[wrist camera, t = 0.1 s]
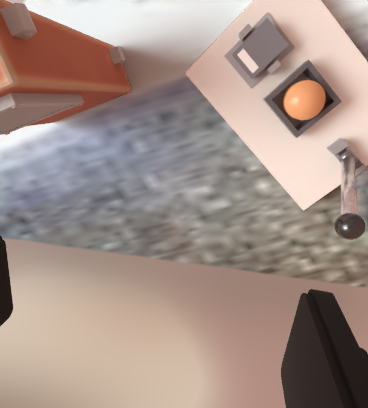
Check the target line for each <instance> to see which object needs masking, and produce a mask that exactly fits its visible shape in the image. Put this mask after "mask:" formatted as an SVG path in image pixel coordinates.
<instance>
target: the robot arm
mask: <svg viewBox="0 0 368 408" xmlns="http://www.w3.org/2000/svg"><path fill="white" fill-rule="evenodd" d="M12 310H13V303H12V294H11V286H10V277H9V269H8V261H7V252H6V244H5V241H4V240H3V239H2V237H1V236H0V326H1V325H2V324H3V323H4V322H5V321H6V320H7V319H8V318H9V317H10V315H11V313H12ZM281 378H282V385H283V391H284V397H285V404H286V408H368V354H367V352H366V351H365V350H364V349H362V348H360V347H359V345H358V343H357V341H356V340H355V337H354V335H353V333H352V331H351V329H350V327H349V325H348V323H347V321H346V319H345V317H344V315H343V313H342V311H341V309H340V307H339V305H338V303H337V301H336V299H335V296H334V295H333V294H332V293H329V292H324V291H319V290H313V289H311V290H309V292H308V294H306V293H302V295H301V297H300V300H299V304H298V308H297V311H296V315H295V318H294V322H293V326H292V329H291V333H290V337H289V340H288V344H287V347H286V351H285V354H284V358H283V362H282V367H281Z"/></svg>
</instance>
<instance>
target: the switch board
mask: <svg viewBox="0 0 368 408" xmlns="http://www.w3.org/2000/svg"><path fill="white" fill-rule="evenodd" d="M266 18H268V19H269V21H270V22H271V23H272V24H273V26H274V27H275V28H276V29H277V31H278V32H279V33H280V34H281V36H282V37H283V38H284V40H285V41H286V42H287V43H288V46H287V47H286V48H285V49H284V50H283V51H282V52H281V53H280V54H279V55H278V56H277V57H276V58H275V59H274V60H272V61H271V62H270V63H269V64H268V65H267V66H266V67H265V68H264V69H263V70H262V71H261V72H260V73H259V74H258V75H257V76H256V77H254V78H253V79H251V78H250V76H249V75H248V74H247V73H246V72H245V70H244V69H243V68H242V67H241V65H240V64H239V63H238V62H237V61H236V59H235V58H234V57H233V56H232V54H233V53H234V52H235V51H236V50H237V49H238V48H239V47H240V46H241V45H242V43H243V42H244V41H245V40H246V39H247V38H248V37H249V36H250V35H251V34H252V33H253V32H254V31H255V30H256V29H257V28H258V27H259V26H260V25H261V24H262V23H263V22H264V21H265V19H266ZM185 74H186V75H187V77H188V78H189V79H190V80H191V81H192V82H193V84H194V85H195V86H196V87H197V88H198V89H199V90H200V92H201V93H202V94H203V95H204V96H205V97H206V99H207V100H208V101H209V102H210V103H211V104H212V105H213V107H214V108H215V109H216V110H217V111H218V112H219V114H220V115H221V116H222V117H223V118H224V119H225V121H226V122H227V123H228V124H229V125H230V126H231V127H232V129H233V130H234V131H235V132H236V133H237V134H238V136H239V137H240V138H241V139H242V140H243V141H244V142H245V144H246V145H247V146H248V147H249V148H250V149H251V151H252V152H253V153H254V154H255V155H256V156H257V158H258V159H259V160H260V161H261V162H262V163H263V164H264V166H265V167H266V168H267V169H268V170H269V171H270V173H271V174H272V175H273V176H274V177H275V178H276V180H277V181H278V182H279V183H280V184H281V185H282V186H283V188H284V189H285V190H286V191H287V192H288V193H289V195H290V196H291V197H292V198H293V199H294V200H295V201H296V203H297V204H298V205H299V206H300V207H301V208H302V210H305V209H306V208H308V207H309V206H311V205H312V204H313V203H315V202H316V201H318V200H319V199H320V198H322V197H323V196H325V195H326V194H328V193H329V192H330V191H332V190H333V189H335V188H336V187H338V186H339V185H340V184H341V163H340V162H339V160H338V159H337V158H336V157H335V155H336V154H338V153H339V152H340V151H342V150H343V149H344V148H346V147H348V146H349V147H350V148H351V149H352V151H353V152H354V153H355V154H356V156H357V157H358V158H359V159H360V161H361V163H360V165H359V166H357V167H356V168H355V174H356V176H357V175H358V174H360V173H361V172H363V171H364V170H366V169H367V167H366V166H367V165H368V62H367V60H366V59H365V58H364V56H363V55H362V54H361V52H360V51H359V50H358V48H357V47H356V46H355V45H354V43H353V42H352V41H351V39H350V38H349V37H348V35H347V34H346V33H345V31H344V30H343V29H342V27H341V26H340V25H339V23H338V22H337V21H336V19H335V18H334V17H333V15H332V14H331V13H330V11H329V10H328V9H327V8H326V6H325V5H324V4H323V2H322V1H321V0H253V1H252V2H251V3H250V4H249V6H248V7H247V8H246V9H245V10H244V11H243V12H242V13H241V14H240V15H239V16H238V17H237V18H236V19H235V20H234V21H233V22H232V23H231V25H230V26H229V27H228V28H227V29H226V30H225V31H224V32H223V33H222V34H221V35H220V36H219V37H218V38H217V39H216V40H215V41H214V42H213V43H212V45H211V46H210V47H209V48H208V49H207V50H206V51H205V52H204V53H203V54H202V55H201V56H200V57H199V58H198V59H197V60H196V61H195V62H194V64H193V65H192V66H191V67H190V68H189V69H188V70H187V71H186V72H185ZM304 80H312V81H315V82H317V83H319V84H320V85H321V86H322V88H323V89H324V91H325V96H326V99H325V104H324V107H323V109H322V110H321V111H320V113H319V114H318V115H316V116H315V117H313V118H311V119H308V120H298V119H295V118H292V117H290V116H289V115H288V114H287V113H286V112H285V110H284V108H283V97H284V94H285V92H286V91H287V89H288V88H289V87H290V86H291V85H293V84H295V83H297V82H300V81H304Z"/></svg>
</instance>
